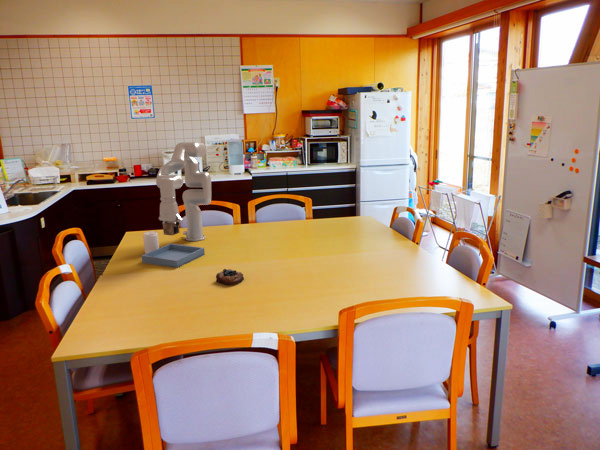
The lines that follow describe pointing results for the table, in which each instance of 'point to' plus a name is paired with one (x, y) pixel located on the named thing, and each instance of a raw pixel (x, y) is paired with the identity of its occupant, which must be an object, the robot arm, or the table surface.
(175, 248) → the slate tray
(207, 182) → the robot arm
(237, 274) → the pastry
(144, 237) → the beverage can
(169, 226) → the walnut block
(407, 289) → the table surface
